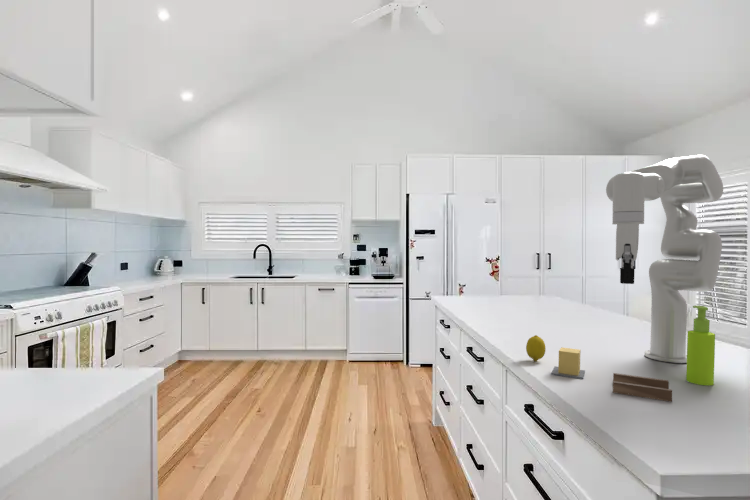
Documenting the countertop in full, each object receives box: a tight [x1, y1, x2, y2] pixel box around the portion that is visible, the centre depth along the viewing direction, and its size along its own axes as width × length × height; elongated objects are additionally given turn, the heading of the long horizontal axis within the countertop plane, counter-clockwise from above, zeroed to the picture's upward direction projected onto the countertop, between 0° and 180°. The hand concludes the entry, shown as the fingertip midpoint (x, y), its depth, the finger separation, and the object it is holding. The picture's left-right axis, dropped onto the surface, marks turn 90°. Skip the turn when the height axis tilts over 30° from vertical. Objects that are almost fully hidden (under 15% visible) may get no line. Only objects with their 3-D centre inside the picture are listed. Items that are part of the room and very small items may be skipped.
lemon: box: [525, 334, 546, 362], centre depth 137 cm, size 6×6×8 cm
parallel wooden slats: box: [612, 372, 673, 403], centre depth 110 cm, size 9×12×2 cm
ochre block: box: [557, 346, 581, 375], centre depth 124 cm, size 5×5×6 cm
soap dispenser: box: [685, 305, 716, 387], centre depth 119 cm, size 6×7×20 cm
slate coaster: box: [550, 366, 586, 380], centre depth 124 cm, size 8×8×1 cm
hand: (627, 281), depth 122 cm, fingers open, 9 cm apart
